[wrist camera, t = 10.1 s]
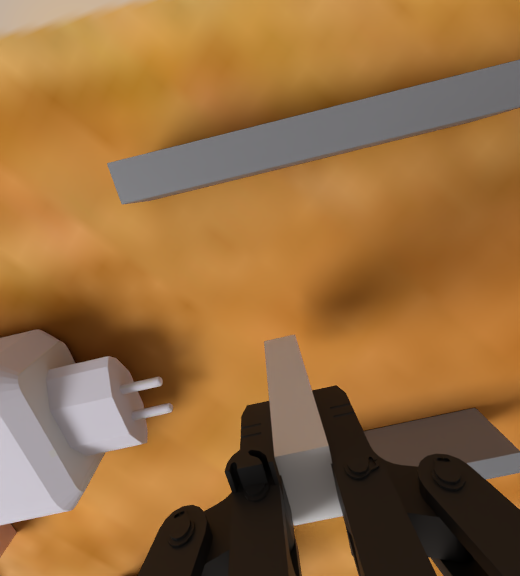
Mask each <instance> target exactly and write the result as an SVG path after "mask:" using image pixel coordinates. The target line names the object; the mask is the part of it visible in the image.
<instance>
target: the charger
mask: <svg viewBox="0 0 520 576" xmlns="http://www.w3.org/2000/svg"><path fill="white" fill-rule="evenodd" d="M162 383H163V380H162V378H161V377H154V378H150V379H145V380H141V381H136V382H134V381H133V379H132V376H131V374H130V372H129V371H128V370H127V369H126V368H125V367H124V365H123V364H122V363H121V362H120V361H119V360H118V359H117V358H114V357H110V356H107V357H102V358H98V359H94V360H89V361H85V362H80V363H75V361H74V359H73V357H72V355H71V353H70V351H69V349H68V348H67V346H66V345H65V344H64V343H63V342H62V341H60V340H58V339H56V338H55V337H53V336H51V335H49V334H48V333H46V332H44V331H42V330H40V329H37V330H32V331H28V332H23V333H19V334H15V335H11V336H6V337H2V338H0V525H4V524H9V523H14V522H19V521H23V520H28V519H33V518H38V517H42V516H47V515H52V514H57V513H61V512H66V511H70V510H73V509H74V507H75V506H76V505H77V503H78V501H79V500H80V498H81V496H82V495H83V493H84V491H85V489H86V488H87V486H88V484H89V482H90V480H91V478H92V476H93V475H94V473H95V471H96V469H97V467H98V465H99V463H100V461H101V460H102V458H103V456H104V454H105V452H108V451H112V450H117V449H121V448H126V447H131V446H135V445H140V444H144V443H147V424H146V418H148V417H152V416H157V415H161V414H166V413H170V412H172V411H173V405H172V404H171V403H167V404H162V405H158V406H153V407H149V408H144V405H143V402H142V400H141V397H140V395H139V393H138V391H141V390H145V389H150V388H154V387H159V386H161V385H162Z"/></svg>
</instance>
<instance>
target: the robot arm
mask: <svg viewBox="0 0 520 576" xmlns="http://www.w3.org/2000/svg"><path fill="white" fill-rule="evenodd" d="M264 346H265V357H266V368H267V380H268V391H269V401H266V402H262V403H257V404H252V405H248V406H247V407H246V409H245V411H244V412H243V414H242V417H241V442H240V450H239V451H238V452H237V453H235V454H234V455H233V456H232V457H231V459H230V460H229V461H228V463H227V466H226V469H225V474H226V477H227V479H228V482H229V485H230V488H231V490H232V493H231V494H230V495H229V496H228V497H227V498H226V499H224V500H223V501H221V502H220V503H218V504H217V505H215V506H213V507H211V508H209V509H208V510H206V511H204V512H203V510H202V509H201V508H200V507H197V506H194V505H189V506H183V507H181V508H179V509H177V510H176V511H174V512H173V513H172V514H171V515H170V516H169V517H167V518H166V519H165V521H164V523H163V524H162V526H161V527H160V529H159V531H158V533H157V535H156V537H155V540H154V542H153V544H152V546H151V548H150V550H149V553H148V555H147V557H146V559H145V561H144V563H143V565H142V568H141V570H140V572H139V574H138V576H302V574H301V567H300V560H299V552H298V546H297V543H296V539H295V536H294V528H293V524H294V526H295V525H300V524H305V523H310V522H315V521H320V520H325V519H330V518H335V517H340V516H343V518H344V521H345V525H346V529H347V534H348V539H349V544H350V548H351V553H352V556H353V557H354V560H355V564H356V567H357V571H358V575H359V576H437V575H436V573H435V571H434V569H433V567H432V565H431V563H430V560H429V558H428V557H431V559H432V560H433V562H434V563H435V564H436V566H437V567H438V569H439V570H440V571H441V573H442V574H443V575H444V576H520V510H519V509H518V508H517V507H516V506H515V505H514V504H513V503H511V502H510V501H509V500H508V499H507V498H506V497H505V496H504V495H502V494H501V493H500V492H499V491H498V490H497V489H496V488H494V487H493V486H492V485H491V484H490V483H489V482H488V481H487V480H485V479H484V478H483V477H482V476H481V475H480V474H479V473H477V472H476V471H475V470H474V469H473V468H472V467H471V466H469V465H468V464H466V463H465V462H464V461H462V460H461V459H459V458H456V457H453V456H451V455H448V454H432V455H428V456H426V457H425V458H424V459H422V460H421V461H420V463H419V466H418V467H417V466H407V465H399V464H394V463H391V462H388V461H386V460H384V459H383V458H381V457H379V456H378V455H377V454H376V453H375V452H374V451H373V449H372V448H371V446H370V444H369V442H368V440H367V438H366V436H365V433H364V431H363V429H362V427H361V425H360V423H359V421H358V418H357V416H356V414H355V412H354V410H353V408H352V406H351V404H350V401H349V399H348V397H347V395H346V393H345V392H344V391H343V390H341V389H340V388H339V387H338V386H331V387H327V388H322V389H317V390H313V391H312V389H311V386H310V383H309V379H308V376H307V373H306V369H305V366H304V363H303V360H302V356H301V353H300V350H299V346H298V343H297V340H296V336H295V335H290V336H286V337H281V338H277V339H273V340H268V341H264Z"/></svg>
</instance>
